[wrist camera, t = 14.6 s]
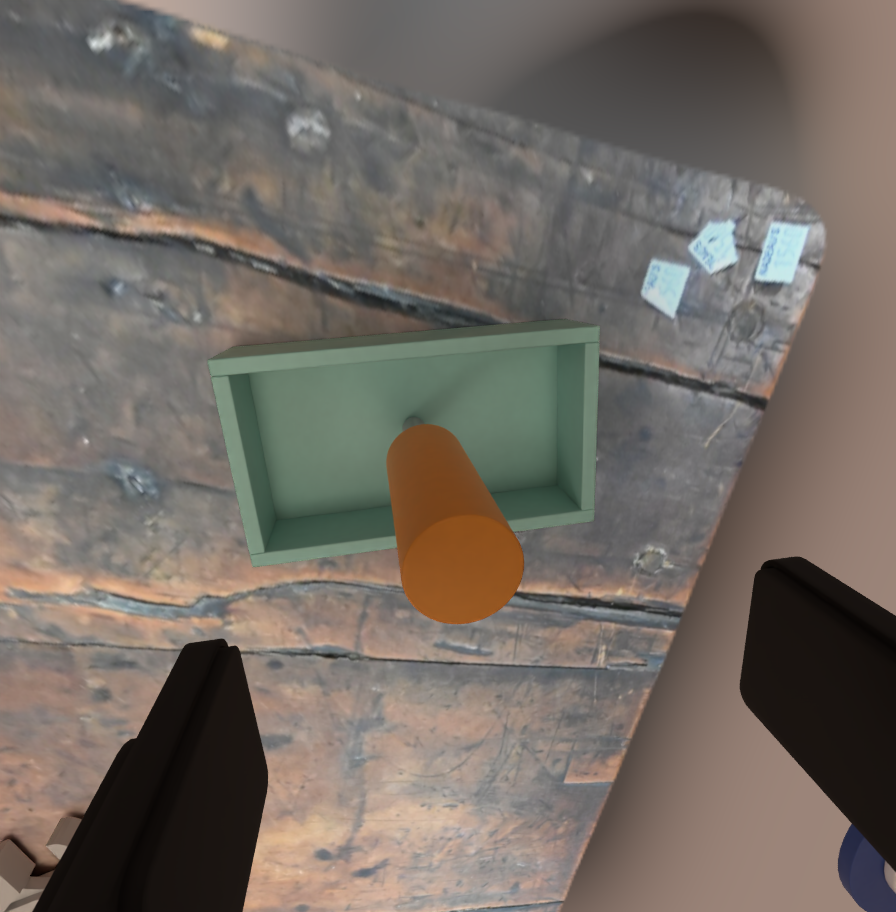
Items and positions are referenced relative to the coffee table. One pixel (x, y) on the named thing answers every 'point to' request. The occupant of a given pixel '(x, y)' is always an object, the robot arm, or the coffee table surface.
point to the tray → (381, 420)
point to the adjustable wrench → (29, 869)
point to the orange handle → (448, 529)
